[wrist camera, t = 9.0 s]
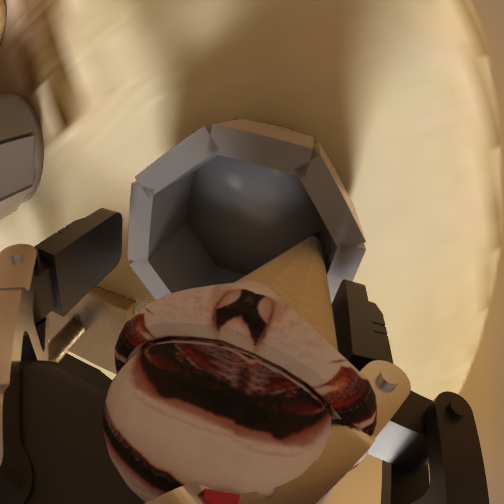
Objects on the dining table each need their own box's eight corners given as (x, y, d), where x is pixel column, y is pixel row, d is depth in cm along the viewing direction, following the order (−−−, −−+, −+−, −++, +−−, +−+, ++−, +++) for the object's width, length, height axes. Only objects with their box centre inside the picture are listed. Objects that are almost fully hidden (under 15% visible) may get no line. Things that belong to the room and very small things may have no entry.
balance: (0, 242, 23) (-115, 330, 9) (208, 327, 21) (109, 536, 8) (15, 308, 26) (-74, 397, 13) (196, 394, 25) (129, 550, 11)
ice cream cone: (361, 163, 14) (256, 613, 1) (385, 274, 15) (350, 620, 2) (249, 192, 16) (-41, 408, 3) (282, 291, 18) (126, 556, 5)
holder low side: (194, 107, 15) (140, 111, 10) (368, 152, 14) (393, 175, 10) (171, 257, 19) (127, 308, 14) (315, 300, 19) (310, 367, 14)
